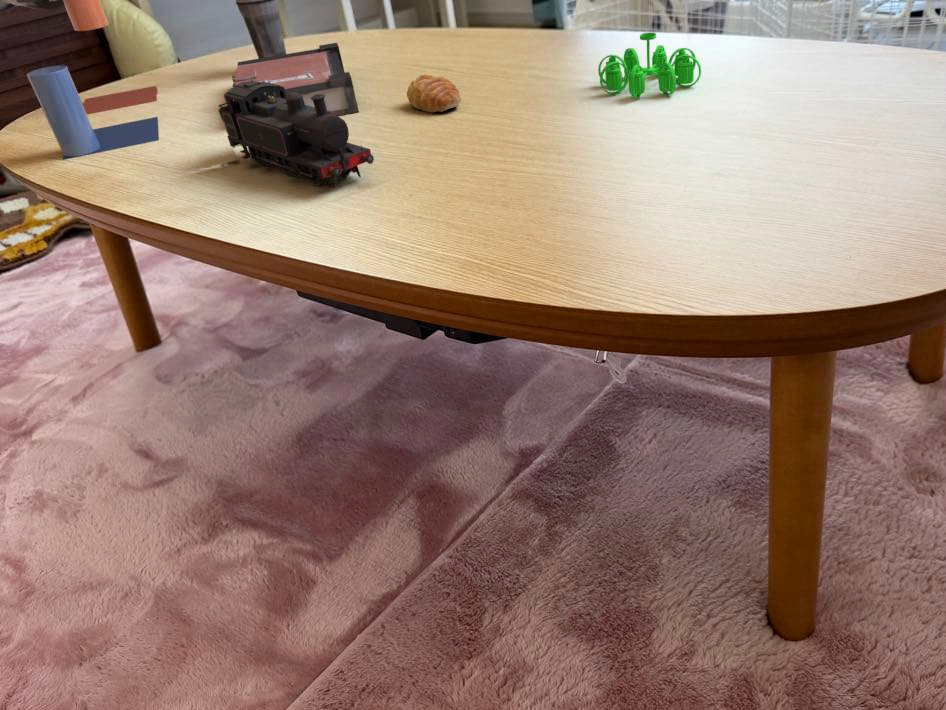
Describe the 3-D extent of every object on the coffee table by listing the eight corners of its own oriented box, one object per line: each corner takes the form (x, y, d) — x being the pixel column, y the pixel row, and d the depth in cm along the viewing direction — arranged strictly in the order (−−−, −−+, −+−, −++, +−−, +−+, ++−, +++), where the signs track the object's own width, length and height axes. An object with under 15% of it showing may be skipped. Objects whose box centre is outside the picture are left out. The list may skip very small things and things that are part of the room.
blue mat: (64, 164, 113) (62, 159, 112) (70, 137, 123) (69, 134, 123) (160, 144, 116) (158, 139, 116) (159, 120, 127) (157, 116, 126)
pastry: (474, 106, 116) (469, 79, 113) (432, 119, 113) (427, 91, 111) (443, 95, 122) (438, 68, 120) (403, 106, 120) (398, 79, 117)
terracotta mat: (82, 119, 132) (80, 115, 132) (86, 102, 141) (84, 99, 141) (158, 104, 135) (156, 100, 135) (157, 89, 144) (156, 85, 144)
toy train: (331, 200, 91) (307, 110, 85) (228, 161, 106) (202, 83, 100) (386, 178, 95) (367, 90, 89) (279, 144, 110) (257, 67, 104)
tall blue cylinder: (62, 159, 112) (24, 77, 106) (64, 150, 116) (28, 70, 110) (99, 152, 114) (65, 70, 107) (101, 142, 117) (68, 63, 111)
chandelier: (669, 66, 123) (669, 17, 119) (722, 87, 111) (724, 33, 107) (579, 85, 119) (576, 35, 115) (625, 109, 108) (623, 54, 104)
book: (242, 90, 137) (232, 59, 134) (344, 73, 140) (337, 42, 137) (239, 133, 116) (227, 98, 113) (358, 111, 119) (350, 76, 116)
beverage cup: (249, 71, 149) (212, -52, 137) (284, 61, 152) (252, -59, 141) (266, 76, 144) (230, -51, 132) (302, 66, 148) (270, -58, 136)
